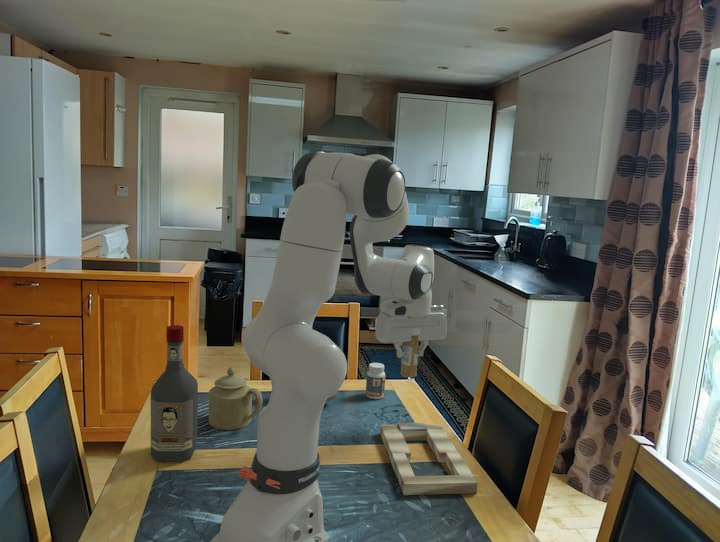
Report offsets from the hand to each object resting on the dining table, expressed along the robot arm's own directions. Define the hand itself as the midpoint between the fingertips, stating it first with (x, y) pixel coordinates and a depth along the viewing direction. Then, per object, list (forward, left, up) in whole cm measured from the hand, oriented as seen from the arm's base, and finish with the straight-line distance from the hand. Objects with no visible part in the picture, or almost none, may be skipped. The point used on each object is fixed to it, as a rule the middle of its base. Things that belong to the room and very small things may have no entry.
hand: (409, 356), depth 144 cm
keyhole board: (-15, -12, -19) cm, 27 cm away
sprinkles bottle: (0, 0, -5) cm, 5 cm away
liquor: (-46, +37, -19) cm, 62 cm away
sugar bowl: (-25, +37, -20) cm, 49 cm away
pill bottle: (+13, +16, -19) cm, 28 cm away
